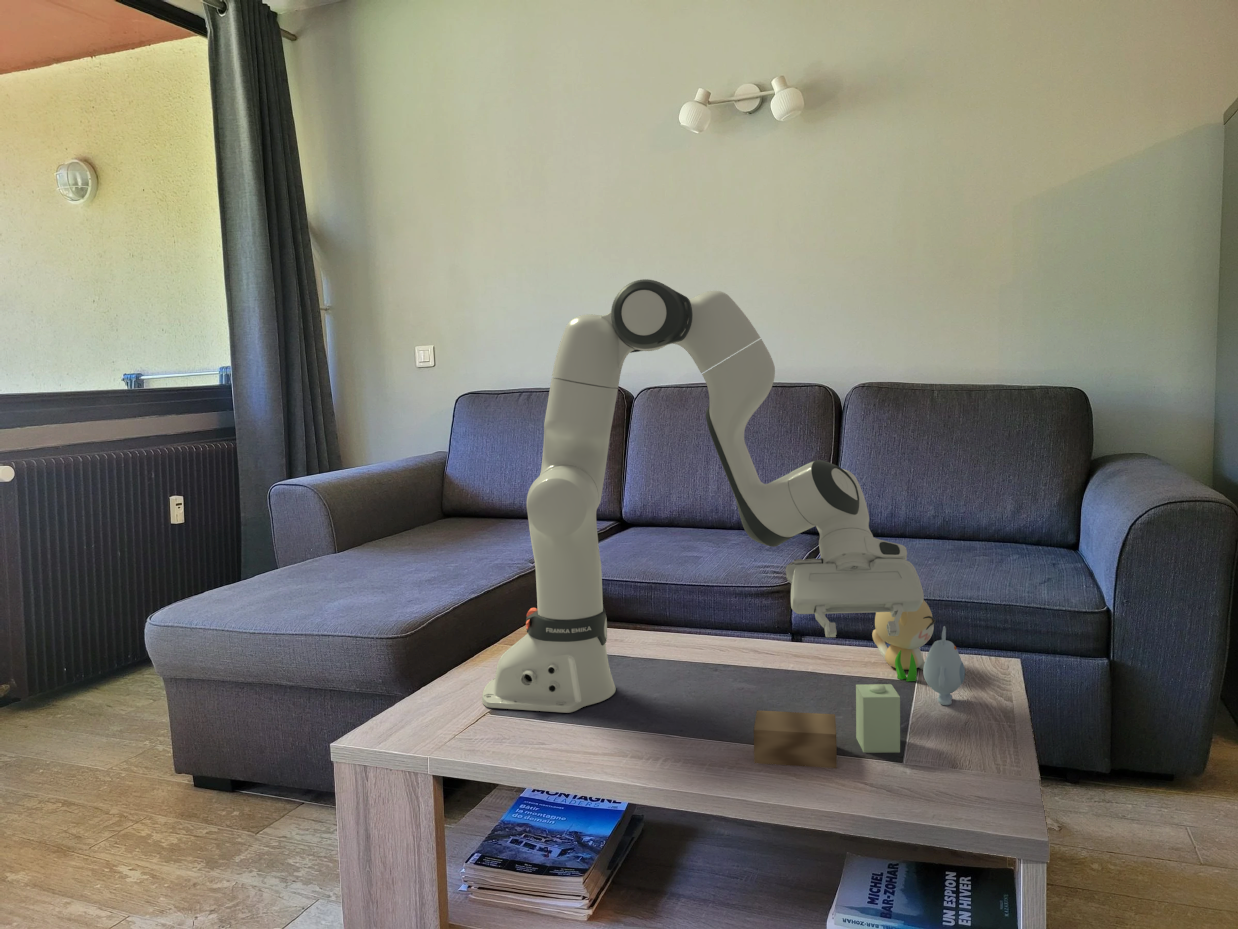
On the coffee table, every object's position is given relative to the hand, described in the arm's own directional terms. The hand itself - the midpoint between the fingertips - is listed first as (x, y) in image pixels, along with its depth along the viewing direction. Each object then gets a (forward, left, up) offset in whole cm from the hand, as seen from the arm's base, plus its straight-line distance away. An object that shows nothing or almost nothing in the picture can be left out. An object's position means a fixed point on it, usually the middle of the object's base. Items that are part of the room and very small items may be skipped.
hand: (862, 635), depth 134 cm
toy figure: (+14, +6, -13) cm, 20 cm away
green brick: (0, -10, -13) cm, 17 cm away
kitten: (+12, +22, -13) cm, 28 cm away
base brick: (-12, -13, -13) cm, 22 cm away
